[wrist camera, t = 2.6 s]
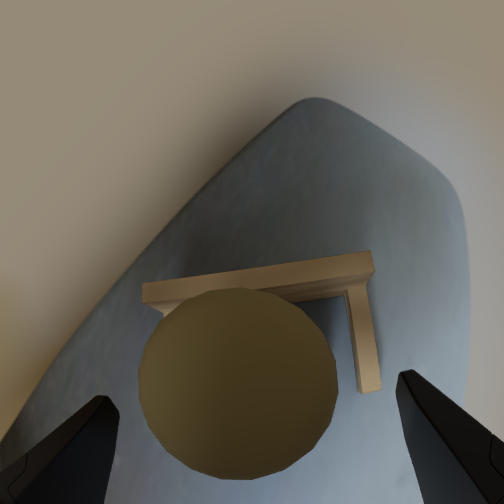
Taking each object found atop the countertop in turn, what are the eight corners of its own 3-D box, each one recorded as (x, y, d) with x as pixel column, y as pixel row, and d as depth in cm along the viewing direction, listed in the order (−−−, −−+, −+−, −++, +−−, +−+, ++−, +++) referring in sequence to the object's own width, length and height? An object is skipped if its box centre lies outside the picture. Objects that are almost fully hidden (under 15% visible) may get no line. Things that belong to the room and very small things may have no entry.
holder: (375, 388, 15) (395, 393, 11) (179, 408, 16) (147, 415, 13) (357, 275, 17) (370, 250, 14) (173, 301, 19) (142, 283, 15)
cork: (344, 345, 16) (404, 304, 6) (301, 445, 15) (292, 547, 4) (243, 308, 18) (163, 221, 8) (202, 403, 16) (72, 429, 6)
